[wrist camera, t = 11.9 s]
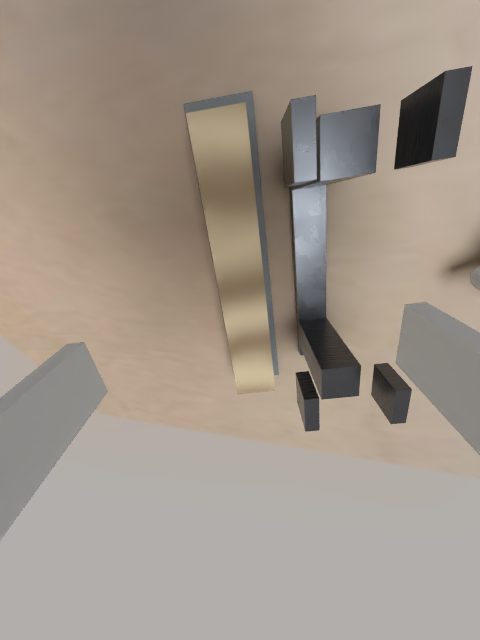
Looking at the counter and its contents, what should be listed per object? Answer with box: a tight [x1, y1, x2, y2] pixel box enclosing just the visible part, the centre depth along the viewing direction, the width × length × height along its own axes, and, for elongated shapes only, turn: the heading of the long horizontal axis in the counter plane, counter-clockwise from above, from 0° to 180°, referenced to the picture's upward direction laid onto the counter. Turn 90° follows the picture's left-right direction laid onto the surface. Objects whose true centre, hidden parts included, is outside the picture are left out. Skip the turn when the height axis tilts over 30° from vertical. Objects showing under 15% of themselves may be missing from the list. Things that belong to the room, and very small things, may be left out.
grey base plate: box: [184, 91, 279, 377], centre depth 26 cm, size 28×6×1 cm, turn 8°
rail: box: [186, 102, 275, 394], centre depth 23 cm, size 24×4×5 cm, turn 8°
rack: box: [281, 66, 472, 431], centre depth 20 cm, size 22×7×13 cm, turn 8°
